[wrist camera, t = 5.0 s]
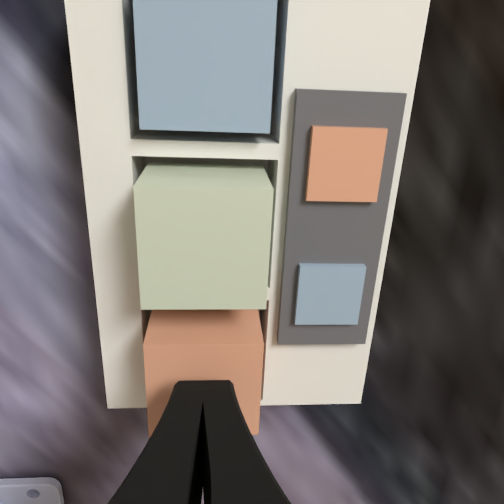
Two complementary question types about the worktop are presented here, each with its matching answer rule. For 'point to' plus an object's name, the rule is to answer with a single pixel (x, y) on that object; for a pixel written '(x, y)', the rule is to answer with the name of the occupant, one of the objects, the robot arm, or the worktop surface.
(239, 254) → the sage key
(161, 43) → the slate blue key
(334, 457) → the worktop surface
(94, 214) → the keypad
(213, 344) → the terracotta key
